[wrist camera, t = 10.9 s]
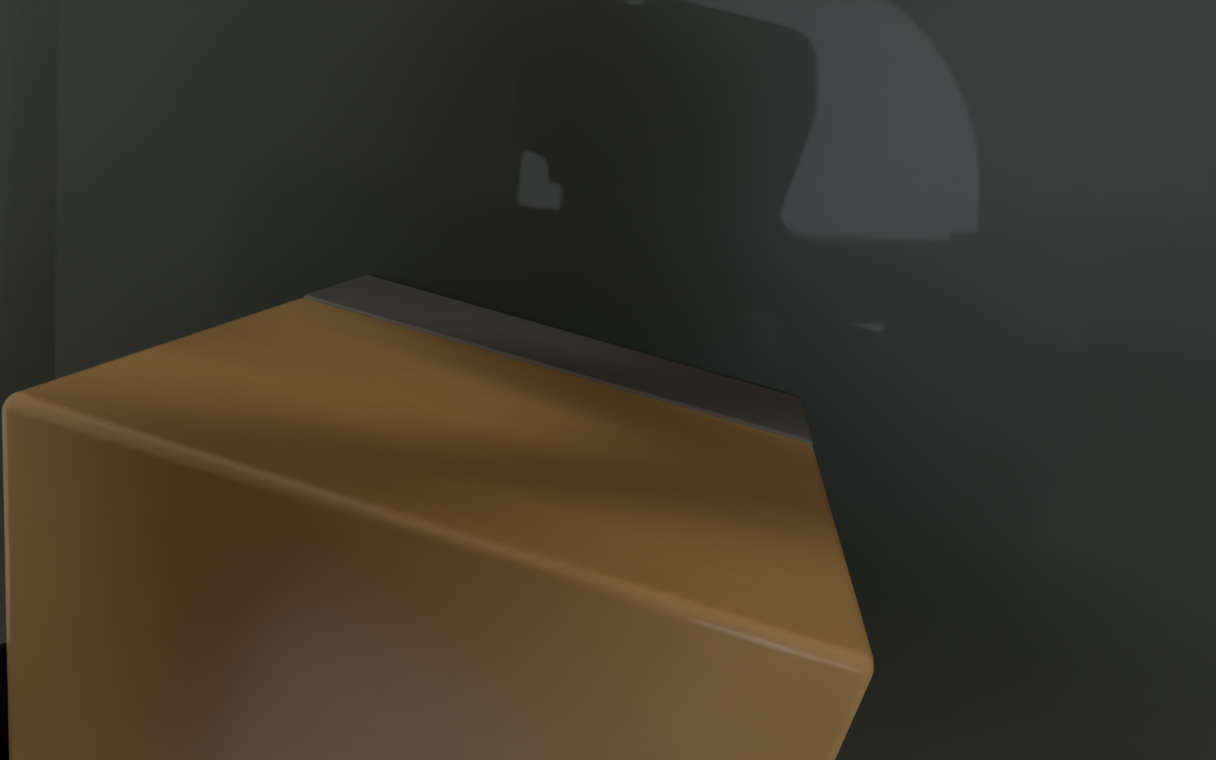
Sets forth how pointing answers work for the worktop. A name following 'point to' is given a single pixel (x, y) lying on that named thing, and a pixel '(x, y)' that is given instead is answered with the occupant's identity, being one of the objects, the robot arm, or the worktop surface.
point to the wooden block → (419, 549)
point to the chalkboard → (725, 274)
